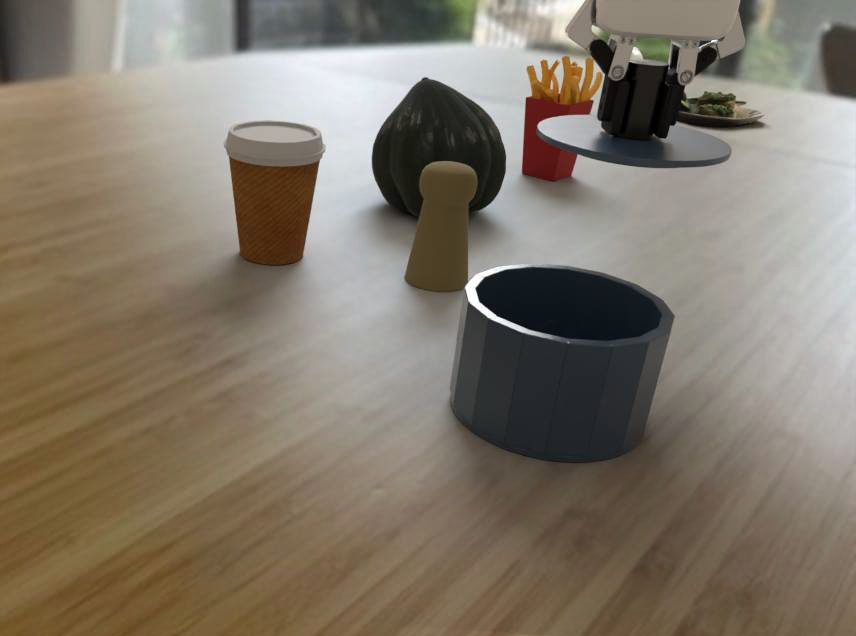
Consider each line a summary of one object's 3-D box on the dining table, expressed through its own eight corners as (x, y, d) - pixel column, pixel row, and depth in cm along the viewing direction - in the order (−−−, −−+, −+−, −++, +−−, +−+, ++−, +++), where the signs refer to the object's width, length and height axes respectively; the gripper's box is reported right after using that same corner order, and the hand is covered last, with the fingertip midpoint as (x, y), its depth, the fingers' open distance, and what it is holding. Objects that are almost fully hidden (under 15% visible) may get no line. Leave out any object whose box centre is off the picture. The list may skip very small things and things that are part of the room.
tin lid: (692, 134, 78) (712, 53, 75) (758, 182, 65) (786, 87, 62) (521, 122, 78) (534, 41, 75) (553, 168, 65) (571, 72, 62)
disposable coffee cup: (299, 278, 84) (305, 149, 78) (206, 260, 87) (205, 134, 81) (332, 247, 92) (340, 127, 86) (247, 231, 95) (249, 114, 89)
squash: (530, 187, 95) (509, 59, 98) (392, 193, 93) (375, 61, 96) (488, 238, 109) (471, 125, 112) (366, 244, 107) (352, 128, 110)
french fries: (556, 184, 117) (578, 62, 110) (501, 170, 122) (519, 53, 115) (588, 173, 123) (611, 57, 116) (535, 160, 128) (554, 47, 120)
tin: (616, 372, 71) (641, 270, 66) (669, 469, 59) (703, 352, 55) (442, 360, 71) (456, 258, 67) (459, 455, 59) (477, 337, 55)
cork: (481, 284, 85) (499, 168, 80) (432, 296, 82) (447, 176, 77) (439, 263, 89) (453, 152, 84) (391, 273, 86) (402, 159, 81)
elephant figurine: (638, 81, 190) (644, 52, 187) (601, 76, 194) (606, 47, 191) (647, 77, 195) (653, 48, 192) (610, 72, 199) (616, 44, 196)
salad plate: (708, 102, 173) (714, 77, 171) (786, 123, 159) (794, 96, 157) (632, 107, 165) (637, 81, 163) (707, 130, 151) (715, 101, 149)
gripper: (790, -130, 65) (720, 129, 74) (563, -145, 65) (520, 115, 74) (839, -133, 59) (756, 152, 67) (586, -149, 59) (536, 137, 68)
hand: (633, 130), depth 71 cm, fingers closed on tin lid, 3 cm apart
